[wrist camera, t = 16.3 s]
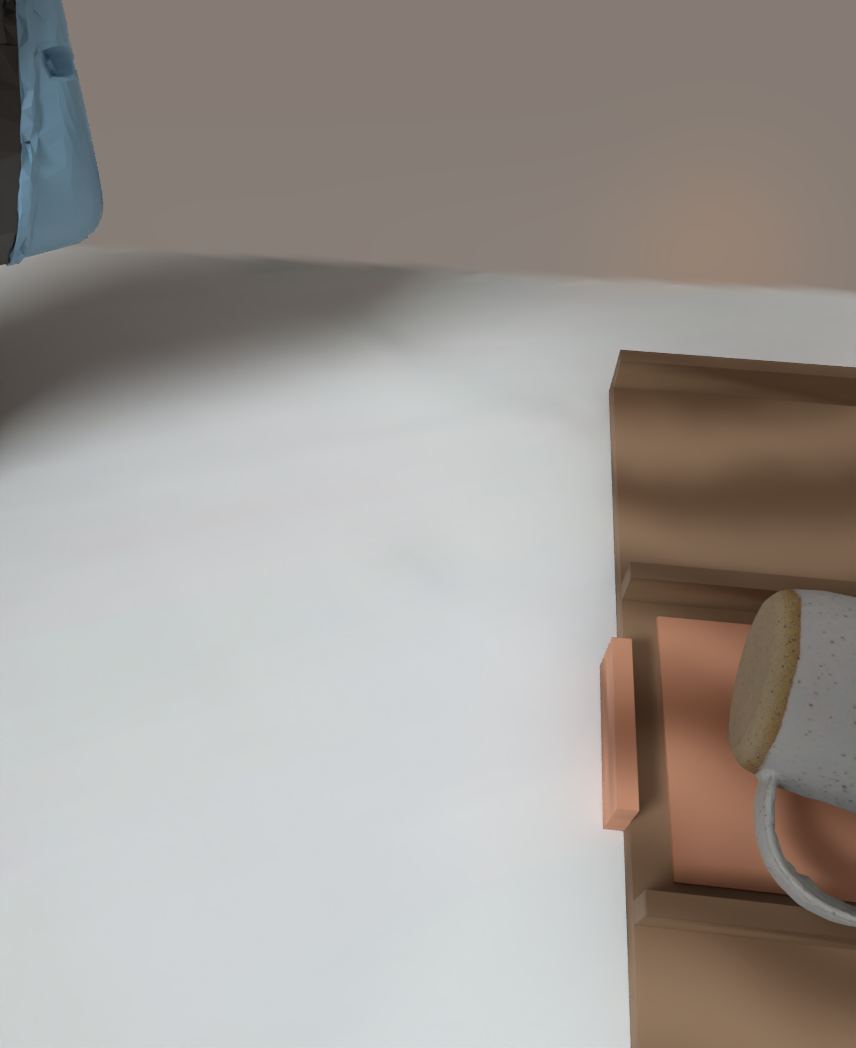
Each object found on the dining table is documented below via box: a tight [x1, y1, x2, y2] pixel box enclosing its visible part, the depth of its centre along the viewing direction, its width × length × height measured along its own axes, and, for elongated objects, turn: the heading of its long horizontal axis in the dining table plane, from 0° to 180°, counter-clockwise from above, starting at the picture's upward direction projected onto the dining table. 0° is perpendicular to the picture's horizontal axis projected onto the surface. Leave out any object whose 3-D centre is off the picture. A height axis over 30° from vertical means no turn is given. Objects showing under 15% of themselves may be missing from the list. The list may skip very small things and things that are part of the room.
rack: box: [600, 350, 856, 1048], centre depth 32 cm, size 41×16×3 cm, turn 174°
